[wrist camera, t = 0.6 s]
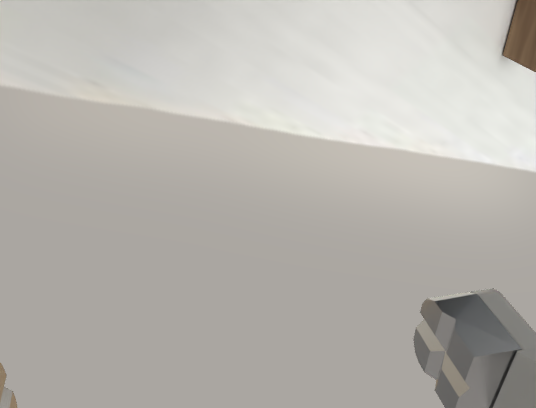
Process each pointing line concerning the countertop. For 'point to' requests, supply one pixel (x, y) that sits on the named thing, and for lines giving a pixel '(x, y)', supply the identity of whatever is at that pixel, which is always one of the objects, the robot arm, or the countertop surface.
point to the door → (523, 35)
